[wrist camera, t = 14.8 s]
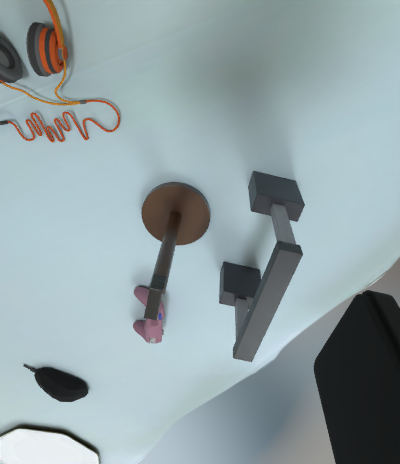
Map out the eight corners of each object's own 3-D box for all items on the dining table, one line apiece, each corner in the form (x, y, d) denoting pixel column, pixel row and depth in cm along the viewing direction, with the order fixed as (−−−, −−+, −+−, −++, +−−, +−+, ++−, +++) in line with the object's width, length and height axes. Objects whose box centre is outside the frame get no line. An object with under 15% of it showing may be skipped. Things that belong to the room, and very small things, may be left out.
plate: (57, 485, 105) (55, 490, 104) (-22, 443, 94) (-26, 449, 93) (121, 462, 95) (120, 468, 93) (40, 413, 84) (37, 419, 83)
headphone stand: (217, 191, 50) (212, 278, 33) (202, 247, 55) (191, 346, 39) (148, 175, 49) (108, 256, 33) (139, 233, 54) (101, 327, 38)
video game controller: (155, 320, 67) (167, 349, 61) (131, 325, 65) (141, 355, 60) (158, 280, 61) (171, 308, 56) (132, 285, 59) (143, 314, 54)
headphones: (129, 124, 48) (65, -64, 34) (122, 145, 44) (46, -57, 30) (18, 141, 50) (-85, -28, 36) (2, 162, 47) (-120, -17, 33)
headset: (295, 180, 48) (323, 252, 34) (255, 280, 58) (264, 368, 44) (253, 170, 48) (264, 238, 33) (220, 273, 57) (217, 359, 43)
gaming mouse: (28, 356, 73) (18, 373, 69) (93, 383, 76) (87, 400, 73) (19, 371, 76) (10, 388, 72) (83, 397, 79) (76, 414, 76)
